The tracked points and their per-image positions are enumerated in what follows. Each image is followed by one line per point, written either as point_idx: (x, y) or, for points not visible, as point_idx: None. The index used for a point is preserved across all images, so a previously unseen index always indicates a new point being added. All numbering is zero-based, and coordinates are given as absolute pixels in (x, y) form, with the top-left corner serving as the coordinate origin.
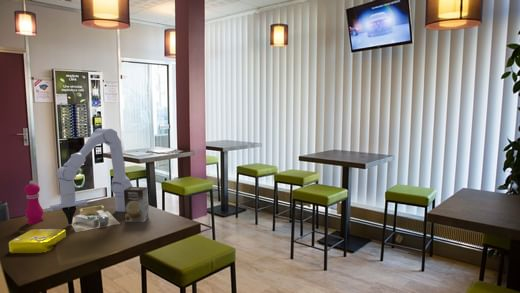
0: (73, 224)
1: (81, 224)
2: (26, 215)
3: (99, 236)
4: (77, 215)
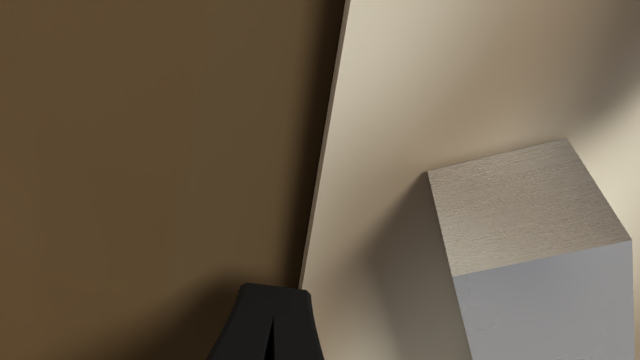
0: (339, 273)
1: (447, 357)
2: None
3: None
4: (527, 280)
